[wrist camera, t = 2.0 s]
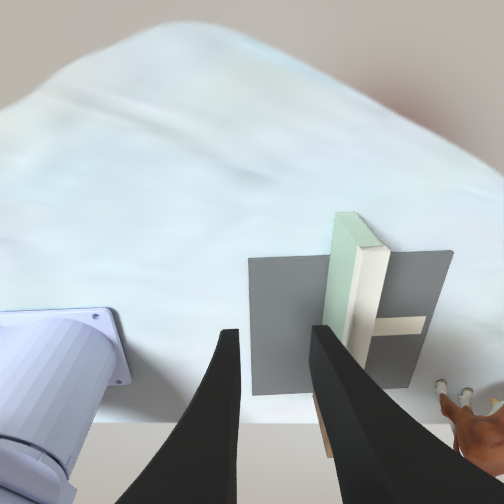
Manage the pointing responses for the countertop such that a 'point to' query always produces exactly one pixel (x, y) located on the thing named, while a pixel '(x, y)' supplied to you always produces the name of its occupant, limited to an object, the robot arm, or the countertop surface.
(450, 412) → the bull figurine
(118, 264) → the countertop surface
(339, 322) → the fence gate
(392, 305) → the board
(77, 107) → the countertop surface
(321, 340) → the robot arm
